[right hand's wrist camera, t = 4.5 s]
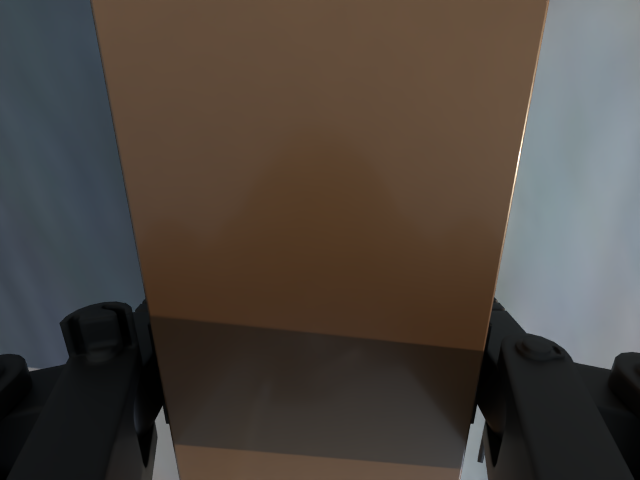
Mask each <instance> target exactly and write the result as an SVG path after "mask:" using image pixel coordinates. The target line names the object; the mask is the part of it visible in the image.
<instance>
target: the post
mask: <svg viewBox="0 0 640 480" xmlns="http://www.w3.org/2000/svg"><path fill="white" fill-rule="evenodd" d="M90 2H91V8H92V13H93V18H94V24H95V29H96V35H97V40H98V45H99V51H100V56H101V61H102V67H103V72H104V77H105V83H106V88H107V93H108V99H109V104H110V109H111V115H112V120H113V126H114V131H115V136H116V142H117V147H118V152H119V158H120V163H121V168H122V174H123V179H124V184H125V190H126V195H127V201H128V206H129V211H130V217H131V222H132V227H133V233H134V238H135V243H136V249H137V254H138V259H139V265H140V270H141V275H142V281H143V286H144V292H145V297H146V302H147V308H148V313H149V318H150V324H151V329H152V334H153V340H154V345H155V350H156V356H157V361H158V367H159V372H160V377H161V383H162V388H163V393H164V399H165V404H166V409H167V415H168V420H169V425H170V431H171V436H172V441H173V447H174V452H175V458H176V463H177V468H178V474H179V479H180V480H460V477H461V472H462V466H463V461H464V456H465V450H466V445H467V440H468V434H469V429H470V424H471V418H472V413H473V407H474V402H475V397H476V391H477V386H478V381H479V375H480V370H481V364H482V359H483V354H484V348H485V343H486V338H487V332H488V327H489V322H490V316H491V311H492V305H493V300H494V295H495V289H496V284H497V279H498V273H499V268H500V262H501V257H502V252H503V246H504V241H505V236H506V230H507V225H508V220H509V214H510V209H511V203H512V198H513V193H514V187H515V182H516V177H517V171H518V166H519V160H520V155H521V150H522V144H523V139H524V134H525V128H526V123H527V118H528V112H529V107H530V101H531V96H532V91H533V85H534V80H535V75H536V69H537V64H538V58H539V53H540V48H541V42H542V37H543V32H544V26H545V21H546V16H547V10H548V5H549V0H90Z"/></svg>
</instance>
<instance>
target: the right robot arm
mask: <svg viewBox="0 0 640 480" xmlns="http://www.w3.org/2000/svg"><path fill="white" fill-rule="evenodd" d="M60 326H61V330H62V333H63V337H64V340H65V344H66V347H67V351H68V354H69V359H68V361H67V363H66V364H64V365H60V366H55V367H50V368H45V369H40V370H35V371H29V370H28V367H27V364H26V361H25V359H24V358H23V357H21V356H20V355H14V354H3V355H0V480H152V475H153V468H154V460H155V452H156V445H157V430H156V425H155V419H156V417H157V415H158V413H159V412H160V410H161V408H162V406H163V409H164V414H165V420H166V424H169V420H168V415H167V409H166V404H165V399H164V393H163V388H162V383H161V377H160V372H159V367H158V361H157V356H156V350H155V345H154V340H153V334H152V329H151V324H150V318H149V313H148V308H147V302H146V299H145V300H144V301H143V302H142V304H140V305H139V307H138V308H137V309H136V310H135V312H132V307H130V306H129V305H128V304H126V303H121V302H103V303H98V304H93V305H89V306H87V307H84V308H81V309H78V310H76V311H75V312H73V313H71V314H69V315H68V316H66V317H65V318H64V319H63V320H62V321H61V322H60ZM477 404H478V406H479V408H480V410H481V412H482V414H483V416H484V418H485V425H484V430H483V435H482V440H481V445H480V450H479V455H478V462H481V463H483V459H484V455H485V459H486V467H487V474H488V480H640V353H635V352H628V353H621V354H619V355H618V356H617V357H615V360H614V363H613V366H612V369H611V370H609V369H604V368H599V367H594V366H589V365H583V364H579V363H575V362H573V360H572V358H571V357H570V355H569V354H568V353H567V352H566V351H565V349H563V348H562V347H561V346H559V345H558V344H556V343H555V342H553V341H550V340H548V339H546V338H543V337H541V336H537V335H532V334H528V333H526V332H525V331H524V330H523V329H522V328H521V327H520V325H519V324H518V323H517V322H516V321H515V320H514V319H513V318H512V316H511V315H510V314H509V313H508V312H507V311H505V309H504V307H503V306H502V305H501V304H500V303H498V301H497V300H496V299H495V297H494V300H493V305H492V311H491V316H490V322H489V327H488V332H487V338H486V343H485V348H484V354H483V359H482V364H481V370H480V375H479V381H478V386H477V391H476V397H475V402H474V407H473V413H472V418H471V424H474V418H475V413H476V408H477Z"/></svg>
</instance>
